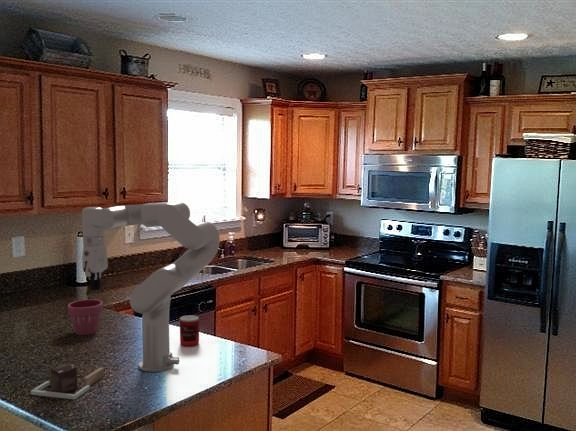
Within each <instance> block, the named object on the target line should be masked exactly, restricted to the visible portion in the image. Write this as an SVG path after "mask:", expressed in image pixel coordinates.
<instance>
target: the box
mask: <svg viewBox="0 0 576 431" xmlns="http://www.w3.org/2000/svg"><path fill="white" fill-rule="evenodd" d="M72 365H73V364H72ZM72 365H71V364H69V363H65V364H61V365H58V366H54V367H51V368H50V377H51V378H50V380H51V381H50V386H51V390H52V392H58V393H68V392H71V391H73V390H77V389H78V372H77V367H76V366H75V367H74V366H72Z"/></svg>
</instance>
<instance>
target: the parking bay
mask: <svg viewBox="0 0 576 431" xmlns="http://www.w3.org/2000/svg"><path fill="white" fill-rule="evenodd" d="M49 386H51V381H50V380H46V381H45V382H43V383H41V384H40V385H38V386H36V387H35V388H33V389H31V390H30V395H34V396H41V397H50V398H60V399H67V400H76V399H78V398H79V397H81V396H82V395H84V394H85V393H87V392H88V391H89V390H91V385H87V386H85V387H84V386H83V387H82V388H81V389H79V390H78V391H76V392H75V393H74V394H73V393H68V392H66V393H58V392H56V391H48V390H44V389H45V388H47V387H49Z"/></svg>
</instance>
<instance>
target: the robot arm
mask: <svg viewBox="0 0 576 431" xmlns="http://www.w3.org/2000/svg"><path fill="white" fill-rule="evenodd" d="M190 217H191V210H190V208H189V206H188V205H187V204H186V203H184V202H181V201H169V202H168V201H166V202H151V203H143V204H142V203H141V204H127V205H116V206H111V207H110V206H109V207H106V208H105V207H104V208H103V207H100V206H87V207H84V208H82V211H81V218H82V219H81V223H82V224H81V225H82V245H83V247H82V262H81V264H82V272H83V273H85V274H84V276H85V277H88V280H89V288H90V289H89V290H90V291H99V290H101V277H102V273H103V272H104V271H105V270H107V269H108V268H109V267H108V266H109V265H108V264H109V263H108V251H107V246H106V243H105V230H106V229H107V230H108V229H109V230H110V229H113V228H119V227H123V226H133V225H134V226H135V225H138V226H139V225H141V226H142V225H143V226H144V227H145V228H159V227H161V228H162V229H163V230H164V231H165V232H166V233H167V234H169V235H170V236H171V238H173V239H174V240H176V241H177V242H178V243H179V244H180V245H181V246H183V247H184V248H186V249H188V250H186V251H185V252H184V253H183V254H182V255H181V256H180V257H179V258H177V259H176V260H175V261H173V262H172V263H170V264H167V265H165V266H163V267H161V268H159V269H157V270H156V271H155V272H153V273H152V274H151V275H150V276H148V278H146V279H144V280H143V281H142V282H141V283H140V284H139V285H138V286H137V287H136V288H134V289H133V291H131V292H132V293H131V294H130V298H129V304H130V307H131V309H132V310H133V311H134V312H136V313H139V314H142V315H141V316H142V317H141V331H142V332H141V333H142V338H141V339H142V360H141V361H140V362H139V363H138V369H139V370H141V371H143V372H147V373H158V372H163V371H164V372H165V371H167V370H170V369H172V368H173V367H174V365H180V357H178V356H173V352H170V306H171V299H172V297H171V296H172V295H173V294H174V293H176V292H177V291H179V290H181V289H182V288H184V287H185V286H186V285H187V284H188V283H189V282H190V281H191V280H192V279H193V278H194V277H195V276H197V275H198V274H199V273H200V272H201V271H202V270H203V269H205V267H207V266H208V265H209V264H210V263H211V262H212V261H213V259H214V258H215V256H216V255H217V253H218V251H219V249H220V248H219V247H220V243H221V242H220V241H221V240H220V239H221V238H220V233H219V230H218V228H217V227H216V225H215V224H213V223H211V222H207V221H201V222H198V223H194V222H193V221H191V220H190Z"/></svg>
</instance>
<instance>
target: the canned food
mask: <svg viewBox="0 0 576 431" xmlns="http://www.w3.org/2000/svg"><path fill="white" fill-rule="evenodd" d="M199 342H200V317H199V316H197V315H192V314H191V315H190V314H189V315H182V316H180V317H179V343H180V346H182V347H187V348H190V347H196V346H198V345H199V344H200V343H199Z"/></svg>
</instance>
